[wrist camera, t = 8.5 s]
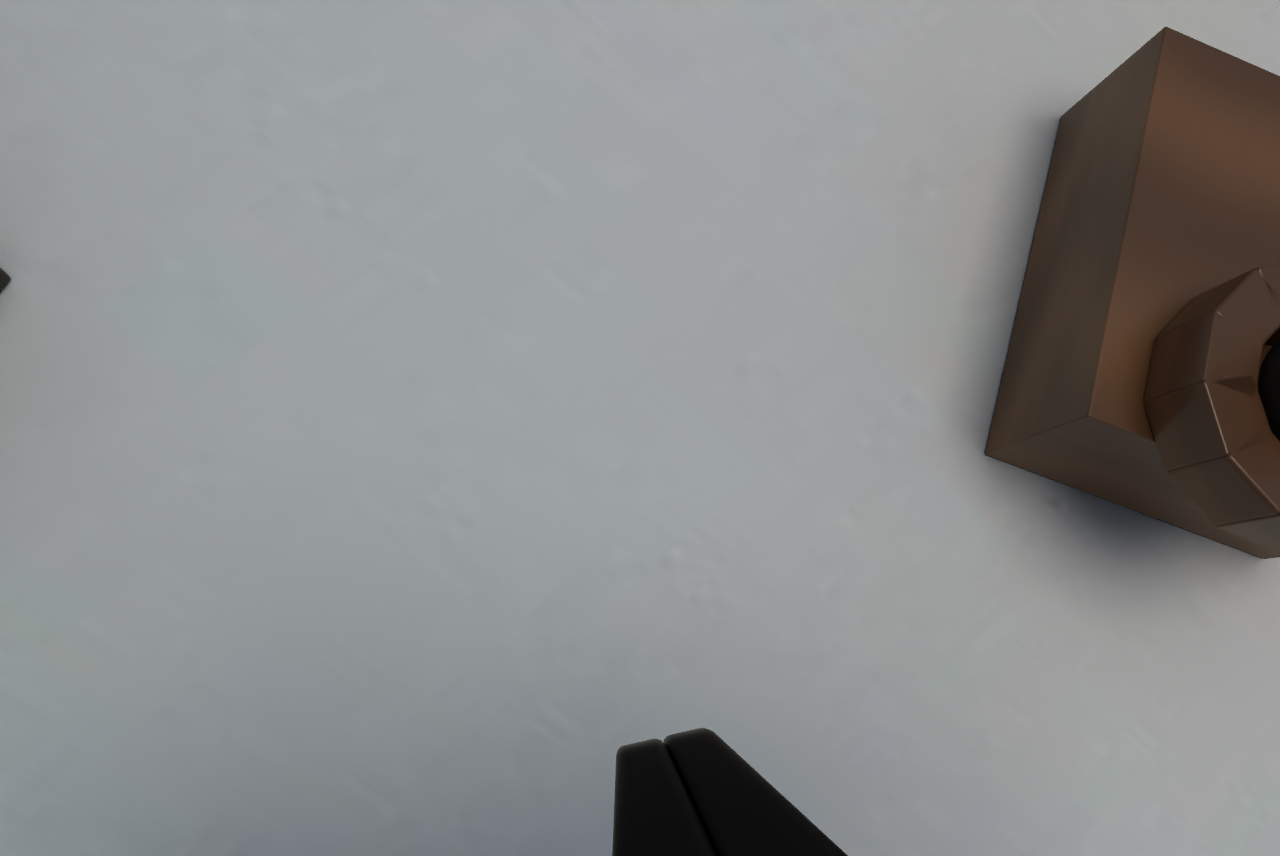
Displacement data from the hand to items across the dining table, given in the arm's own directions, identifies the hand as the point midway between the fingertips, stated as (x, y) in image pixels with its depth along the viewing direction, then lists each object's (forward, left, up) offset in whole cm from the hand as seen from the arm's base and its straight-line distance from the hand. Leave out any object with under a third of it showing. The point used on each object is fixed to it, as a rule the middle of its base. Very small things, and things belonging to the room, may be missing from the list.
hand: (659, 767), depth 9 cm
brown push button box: (+17, -9, -14) cm, 23 cm away
